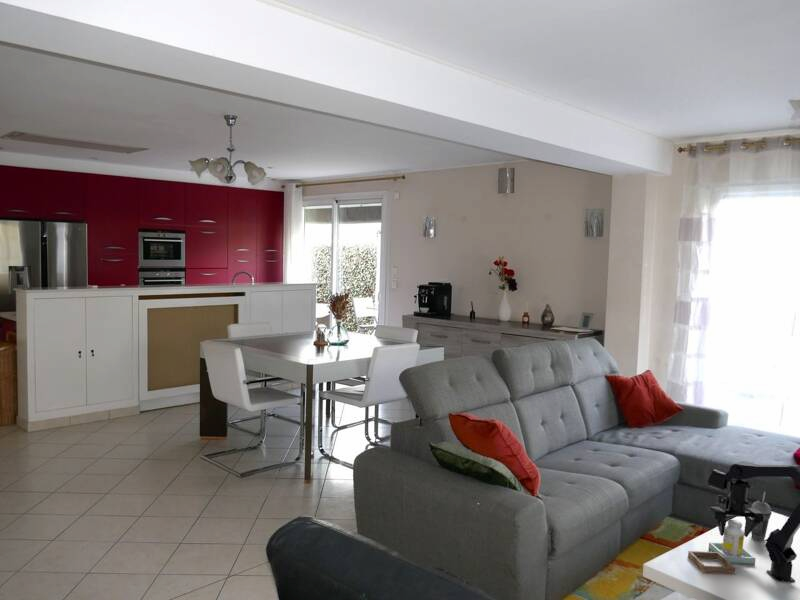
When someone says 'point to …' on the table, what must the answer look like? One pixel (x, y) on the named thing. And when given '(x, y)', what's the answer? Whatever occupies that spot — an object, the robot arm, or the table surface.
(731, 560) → the tray
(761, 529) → the beverage cup
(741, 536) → the supplement bottle
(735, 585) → the table surface
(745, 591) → the table surface
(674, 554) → the table surface
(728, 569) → the brown wooden square frame
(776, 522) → the table surface
